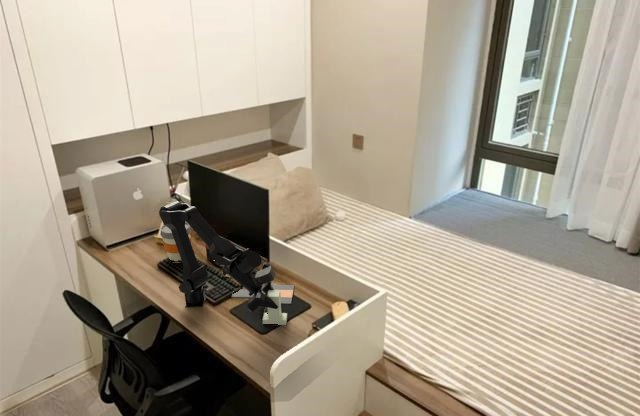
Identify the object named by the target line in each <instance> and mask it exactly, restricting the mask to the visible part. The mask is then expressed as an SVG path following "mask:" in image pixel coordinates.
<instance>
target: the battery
mask: <svg viewBox="0 0 640 416" xmlns="http://www.w3.org/2000/svg"><path fill="white" fill-rule="evenodd" d="M204 245H205V246H204V247H205V252H206V253H205V254H206V258H207V260H210V261H212V262H213V260H214V259H213V257H212V256H211V255H210V250H209V247H208V245H207V244H206V243H205V242H204Z"/></svg>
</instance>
